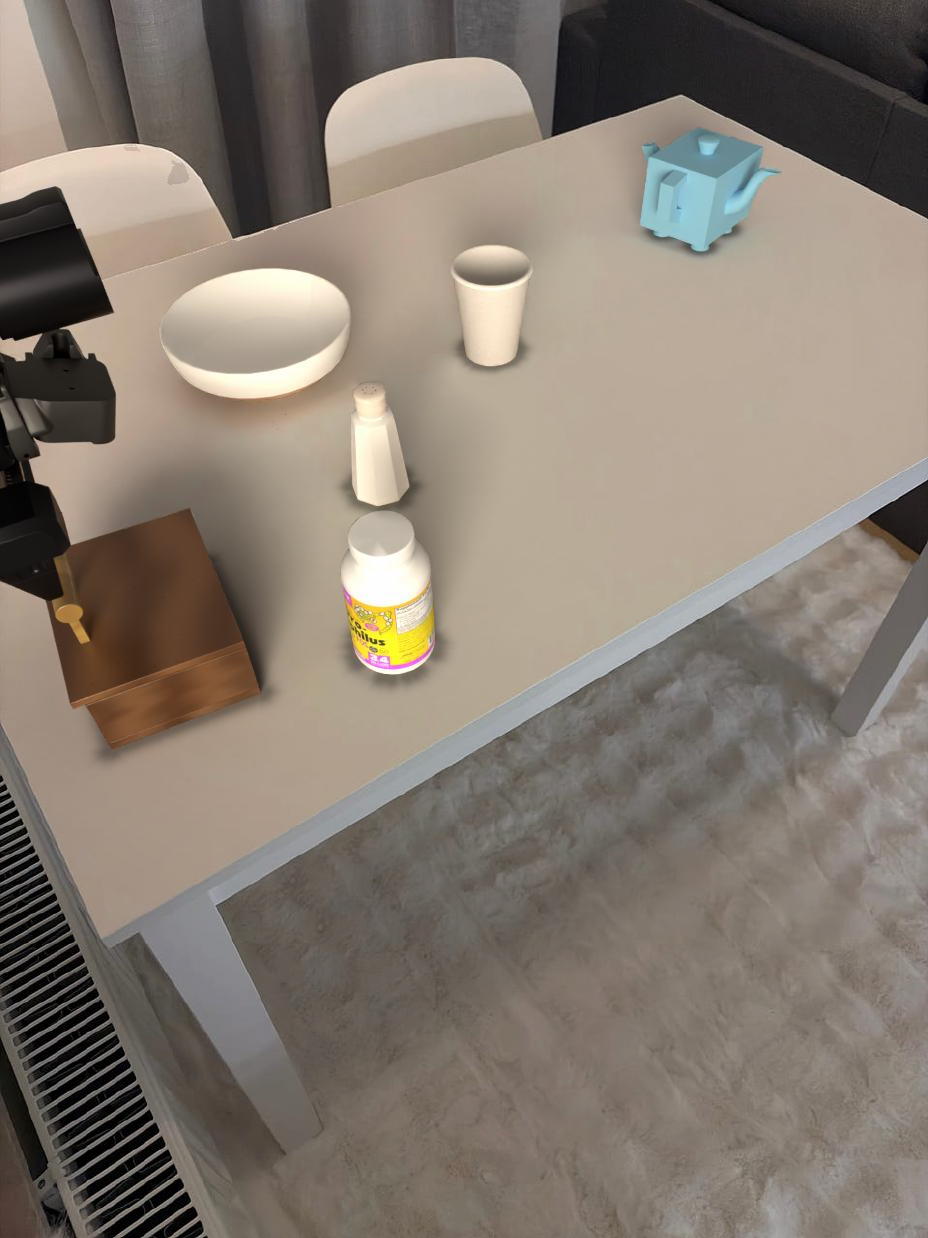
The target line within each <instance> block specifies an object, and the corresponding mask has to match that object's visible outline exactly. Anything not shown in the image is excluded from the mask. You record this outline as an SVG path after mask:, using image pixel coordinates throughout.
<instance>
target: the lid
mask: <svg viewBox="0 0 928 1238" xmlns="http://www.w3.org/2000/svg"><path fill="white" fill-rule="evenodd" d="M194 517H195V516H194V515H193V512H192V509H191V508H190V507H188V508H184V509H181V510H179V511H175V512H171V513H169V514H166V515H163V516H160V517H156V518H153V519H150V520H147V521H143V522H141V523H137V524H134V525H129V526H127V527H124V528H121V529H118V530H114V531H112V532H109V533H105V534H102V535H99V536H96V537H92V538H90V539H89V538H88V539H86V540H83V541H80V542H76V543H74V544H71V546H70V547H69V548H68V549H67V551H66V552H65V553H64V554H63V555H61V556H58V557H55V558H54V561H55V564H56V568H57V571H58V575H59V578H60V582H61V585H62V588H63V592H64V595H63V596H62V597H60V598H58V599H55V600H52V601H46V600H45V603H46V607H47V612H48V616H49V620H50V625H51V629H52V633H53V638H54V642H55V645H56V650H57V655H58V658H59V659H58V660H59V663H60V668H61V671H62V676H63V681H64V685H65V688H66V693H67V698H68V702H69V705H70V706H71V708H72V709H73V710H74V709H78V708H81V707H83V706H85V705H86V704H89V703H91V702H94V701H97V700H100V699H103V698H105V697H108V696H111V695H114V694H116V693H119V692H122V691H125V690H128V689H130V688H133V687H136V686H139V685H141V684H144V683H147V682H150V681H152V680H155V679H158V678H161V677H164V676H166V675H169V674H172V673H175V672H177V671H180V670H183V669H186V668H189V667H191V666H194V665H197V664H200V663H202V662H205V661H208V660H211V659H214V658H216V657H219V656H222V655H225V654H227V653H230V652H233V651H236V650H239V649H241V648H244V647H246V644H245V641H244V637H243V636H242V633H241V631H240V628H239V626H238V624H237V620H236V619H235V616H234V613H233V611H232V609H231V606H230V603H229V601H228V599H227V596H226V594H225V591H224V589H223V586H222V584H221V581H220V579H219V575H218V574H217V571H216V568H215V566H214V564H213V561H212V559H211V557H210V555H209V552H208V549H207V547H206V544H205V542H204V539H203V537H202V534H201V532H200V530H199V527H198V525H197V524H198V523H197V522H196V520H195V518H194Z"/></svg>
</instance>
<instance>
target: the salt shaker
mask: <svg viewBox="0 0 928 1238" xmlns="http://www.w3.org/2000/svg"><path fill="white" fill-rule="evenodd" d="M386 395H387V390H386V388H385V387H384V386H383V384H381V383H379V382H377V381H376V382H375V381H366V382H365V381H364V382H362V383H360V384H358V385H357V386H356V387H355V388H354V389H353V391H352V397H353V399H354V406H355V410H353V412H352V413H351V414H350V441H351V442H350V443H351V444H350V446H351V447H350V448H351V449H350V450H351V486H352V488H353V491H354V494H355V496H356V498H357V500H358V501H359V502H363V503H366V504H369V505H371V506H376V507H381V506H386V505H389V504H394V503H397V502H399V501H400V500H401V499H402V497H403V496H404V495H405V494H406V492H407V491H408V489H409V488H410V482H409V477H408V473H407V468H406V465H405V460H404V455H403V450H402V446H401V443H400V438H399V434H398V429H397V424H396V421H395V417H394V414H393V412H392V410H391V408H390V406H389V405H387V398H386Z"/></svg>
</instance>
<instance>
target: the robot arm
mask: <svg viewBox="0 0 928 1238" xmlns="http://www.w3.org/2000/svg"><path fill="white" fill-rule="evenodd" d="M99 272H100V271H99V269H98V267H97V265H96V263H95V260H94V257H93V255H92V253H91V251H90V248H89V246H88V243H87V240H86V238H85V235H84V233H83V230H82V228H81V227H79V228H77V225H76V223H75V220H74V218H73V215H72V212H71V210H70V208H69V205H68V203H67V199H66V198H65V195H64V192H63V190H62V188H61V187H59V186H56V185H54V186H51V187H46V188H43V189H38V190H35V191H32V192H31V193H29V194H27V195H25V196H24V197H22V198H19V199H15V200H12V201H8V202H3V203H0V339H1V341H6V340H10V339H12V340H13V341H14V342H18V341H22V340H25V339H29V338H32V337H35V336H40V337H39V339H38V340H37V342H36V343H35V345H34V347H33V349H32V351H26V352H24V360H17V359H16V358H15V357H14V356H11V355H8V354H6V353H4V352H1V351H0V582H1V583H3V584H5V585H8V586H11V587H13V588H16V589H18V590H20V591H23V592H25V593H28V594H29V595H32V596H35V597H37V598H39V599H42V600H44V601H45V602H46V601H52V600H55V599H58V598H60V597H62V596H63V595H64V592H63V588H62V585H61V582H60V578H59V575H58V571H57V568H56V564H55V561H54V558H55V557H58V556H61V555H63V554H64V553H65V552H66V551H67V549H68V548H69V547H70V546H71V545H72V543H71V540H70V536H69V532H68V529H67V524H66V521H65V517H64V514H63V512H62V511H61V508H60V506H59V503H58V501H57V498H56V497H55V495H54V494H53V491H52V489H51V488H50V486H49V485H44V484H41V483H38V482H36V481H35V477H34V474H33V469H32V465H31V461H30V460H32V459H36V458H38V457H41V456H42V454H41V451H40V448H39V445H38V444H37V442H36V441H38V442H41V443H45V444H62V443H65V444H66V443H70V444H71V443H91V444H93V445H106V444H109V443H112V442H113V441H115V439H116V428H117V427H116V426H117V424H116V423H117V422H116V421H117V420H116V419H117V417H116V416H117V391H116V389H115V386H114V384H113V381H112V378H111V376H110V373H109V370H108V368H107V366H106V364H105V363H103V362H102V361H100V360H98V358H97V356H96V354H95V352H88V353H87V357H86V356H85V355H84V354H83V350H82V348H81V347H80V345H79V343H78V342H77V341H76V338H75V337H74V336H73V334H72V332H71V331H70V330H69V329H68V328H67V327H70V326H74V325H77V324H80V323H84V322H87V321H91V320H94V319H98V318H101V317H106V316H108V315H112V314H115V311H114V308H113V305H112V303H111V300H110V298H109V296H108V293H107V290H106V288H105V285H104V282H103V279H102V277H101V275H100V273H99Z"/></svg>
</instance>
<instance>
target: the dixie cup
mask: <svg viewBox="0 0 928 1238" xmlns="http://www.w3.org/2000/svg"><path fill="white" fill-rule="evenodd" d="M449 270H450V273H451V277H453V283H454V289H455V296H456V302H457V308H458V313H459V321H460V327H461V333H462V339H463V346H464V352H465V355H466V357H467V358H468V359H469V360H470V362H472V363H474V364H477V365H480V366H485V367H496V366H497V367H498V366H502V365H506V364H508V363H510V362H511V361H513V360H514V359H515V358H516V356H517V354H518V350H519V344H520V339H521V331H522V325H523V319H524V313H525V308H526V302H527V297H528V291H529V286H530V285H529V284H530V280H531V276H532V275H533V272H534V262H533V261H532V259H531V258H530V257H529V255H527V254H526V253H525V252H523V251H522V250H520V249H519V248H515V247H513V246H509V245H503V244H481V245H477V246H472V247H470V248H469V247H468V248H467V249H465V250H463V251H461V252H460V253H458V254H457V255H456V256H455V257H454V258H453V259H452V260H451V263H450V267H449Z"/></svg>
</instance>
